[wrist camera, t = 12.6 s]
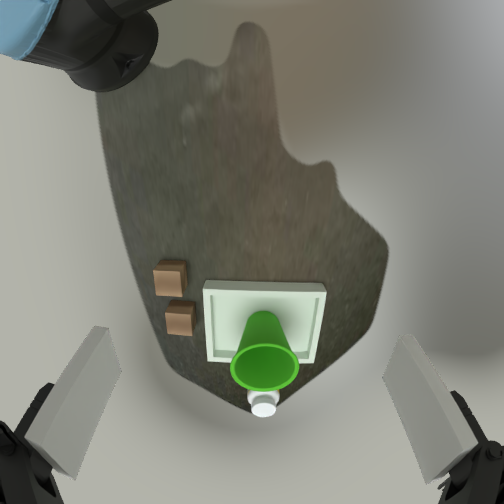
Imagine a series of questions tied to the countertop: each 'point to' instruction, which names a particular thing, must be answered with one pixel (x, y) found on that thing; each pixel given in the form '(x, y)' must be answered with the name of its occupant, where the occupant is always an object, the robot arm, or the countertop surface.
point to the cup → (264, 355)
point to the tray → (262, 299)
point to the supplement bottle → (263, 402)
